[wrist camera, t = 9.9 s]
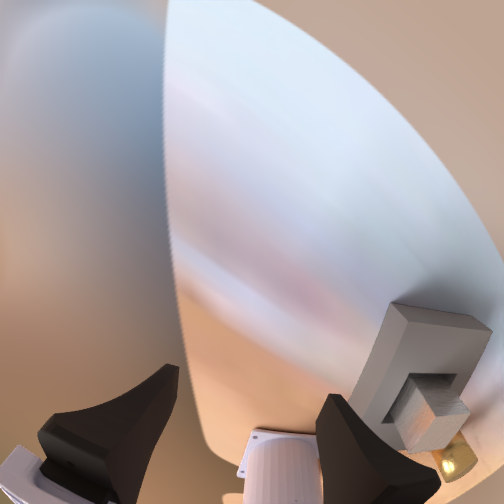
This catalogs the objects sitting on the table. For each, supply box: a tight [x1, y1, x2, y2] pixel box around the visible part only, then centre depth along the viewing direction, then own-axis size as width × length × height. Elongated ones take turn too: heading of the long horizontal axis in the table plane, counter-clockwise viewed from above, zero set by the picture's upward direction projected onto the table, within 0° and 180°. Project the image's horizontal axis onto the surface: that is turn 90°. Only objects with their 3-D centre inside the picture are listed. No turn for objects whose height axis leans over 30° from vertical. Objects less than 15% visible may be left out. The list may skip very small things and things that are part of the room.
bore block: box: [348, 303, 493, 451], centre depth 20 cm, size 14×10×4 cm
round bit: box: [430, 430, 478, 483], centre depth 21 cm, size 4×4×7 cm
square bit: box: [389, 373, 471, 454], centre depth 18 cm, size 4×4×7 cm
